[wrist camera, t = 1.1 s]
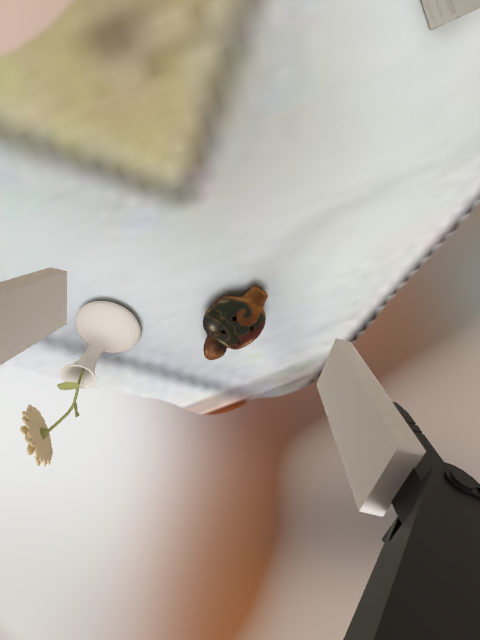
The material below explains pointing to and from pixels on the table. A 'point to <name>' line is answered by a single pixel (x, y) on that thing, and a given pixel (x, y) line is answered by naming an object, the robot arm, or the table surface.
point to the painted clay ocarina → (234, 322)
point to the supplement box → (447, 10)
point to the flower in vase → (84, 364)
